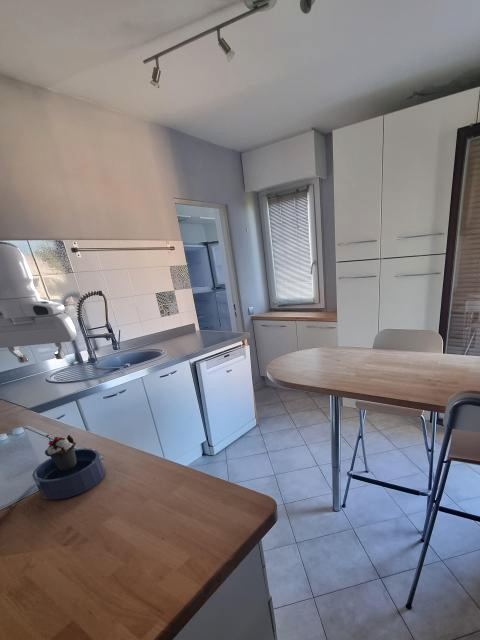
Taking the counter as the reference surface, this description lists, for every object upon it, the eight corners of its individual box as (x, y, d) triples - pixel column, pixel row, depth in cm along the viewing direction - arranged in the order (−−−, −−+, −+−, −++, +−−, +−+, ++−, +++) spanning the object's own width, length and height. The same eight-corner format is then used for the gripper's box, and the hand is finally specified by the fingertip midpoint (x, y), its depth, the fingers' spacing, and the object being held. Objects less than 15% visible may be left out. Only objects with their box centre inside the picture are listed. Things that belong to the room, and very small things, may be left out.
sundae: (56, 492, 84) (33, 440, 78) (62, 477, 89) (41, 428, 83) (86, 483, 86) (66, 433, 80) (89, 470, 92) (71, 422, 86)
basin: (28, 505, 80) (18, 485, 78) (59, 470, 94) (51, 452, 91) (92, 496, 82) (84, 476, 80) (113, 463, 95) (107, 445, 93)
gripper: (-31, 314, 82) (-7, 367, 88) (58, 307, 84) (76, 359, 90) (-13, 310, 88) (9, 361, 93) (69, 304, 90) (86, 353, 96)
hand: (42, 360), depth 92 cm, fingers open, 8 cm apart
